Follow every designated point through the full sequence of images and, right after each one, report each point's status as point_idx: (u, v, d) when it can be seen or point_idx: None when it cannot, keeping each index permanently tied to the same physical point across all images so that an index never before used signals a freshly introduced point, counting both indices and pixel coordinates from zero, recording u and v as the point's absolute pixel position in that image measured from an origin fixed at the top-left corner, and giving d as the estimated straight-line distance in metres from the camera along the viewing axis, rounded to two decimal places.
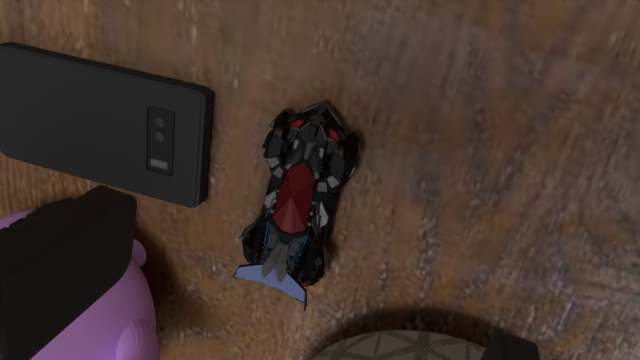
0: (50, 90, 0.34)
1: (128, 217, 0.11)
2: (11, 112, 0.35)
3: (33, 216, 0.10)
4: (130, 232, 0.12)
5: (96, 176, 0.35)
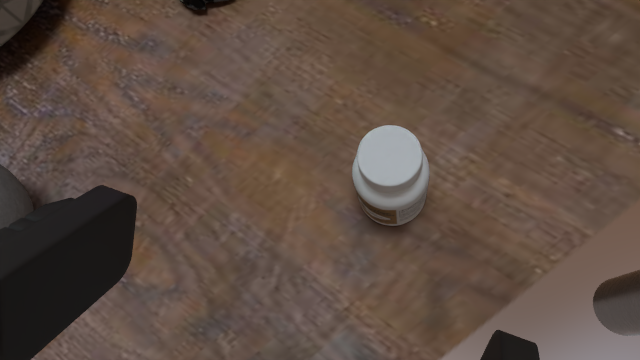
0: None
1: (128, 217, 0.11)
2: None
3: (34, 216, 0.10)
4: (130, 232, 0.12)
5: None
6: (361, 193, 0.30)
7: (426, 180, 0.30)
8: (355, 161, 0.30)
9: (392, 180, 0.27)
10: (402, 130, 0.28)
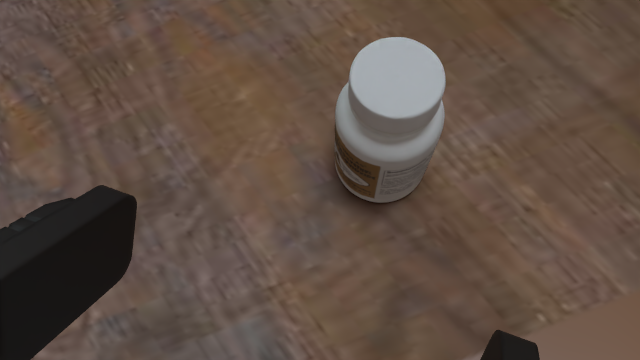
0: None
1: (128, 216, 0.11)
2: None
3: (34, 216, 0.10)
4: (130, 232, 0.12)
5: None
6: (341, 128, 0.21)
7: (435, 138, 0.21)
8: (346, 85, 0.21)
9: (390, 110, 0.18)
10: (426, 50, 0.19)
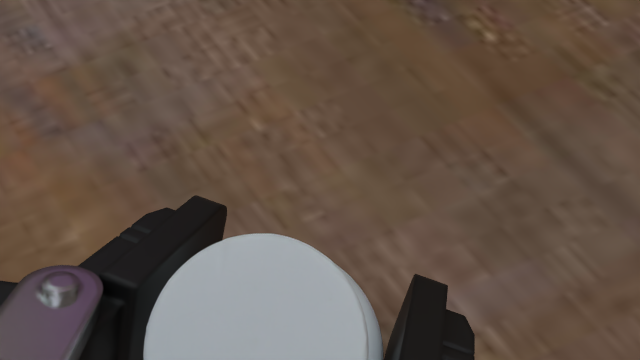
0: None
1: (220, 226, 0.12)
2: None
3: (139, 225, 0.11)
4: (219, 240, 0.12)
5: None
6: None
7: None
8: None
9: None
10: (326, 271, 0.08)
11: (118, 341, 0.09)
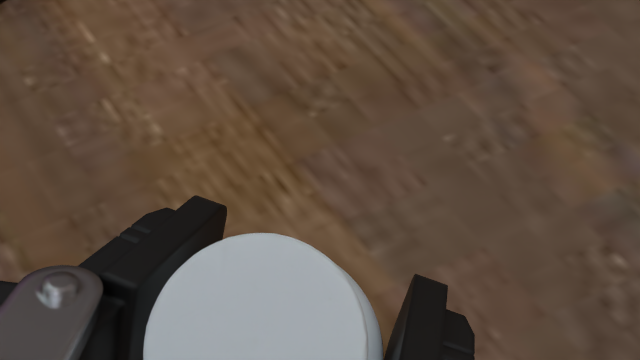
0: None
1: (220, 226, 0.12)
2: None
3: (139, 225, 0.11)
4: (219, 240, 0.12)
5: None
6: None
7: None
8: None
9: None
10: (326, 270, 0.08)
11: (118, 341, 0.09)
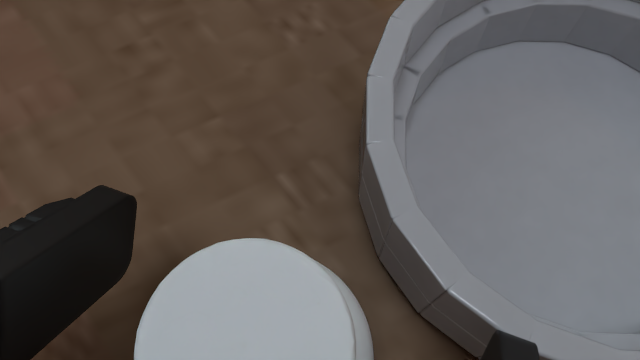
0: None
1: (128, 217, 0.11)
2: None
3: (33, 216, 0.10)
4: (130, 232, 0.12)
5: None
6: None
7: None
8: None
9: None
10: (315, 275, 0.08)
11: None
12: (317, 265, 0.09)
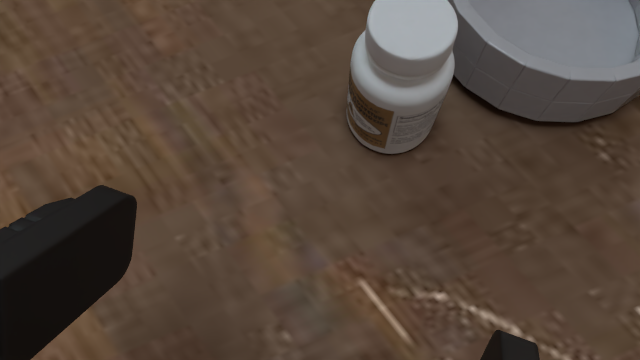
0: None
1: (128, 216, 0.11)
2: None
3: (34, 215, 0.10)
4: (130, 232, 0.12)
5: None
6: (356, 75, 0.22)
7: (446, 84, 0.22)
8: (362, 35, 0.23)
9: (406, 52, 0.20)
10: None
11: None
12: None
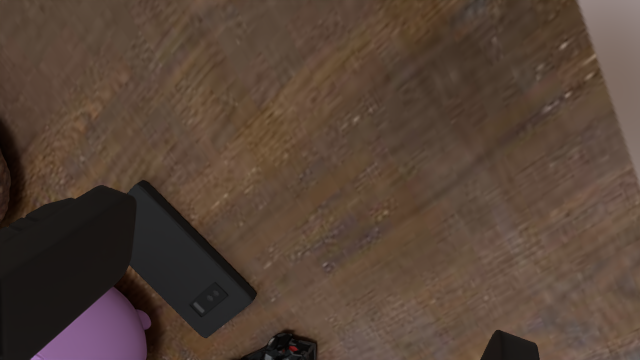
0: (158, 231, 0.49)
1: (128, 216, 0.11)
2: None
3: (33, 216, 0.10)
4: (130, 232, 0.12)
5: (153, 284, 0.51)
6: None
7: None
8: None
9: None
10: None
11: None
12: None
